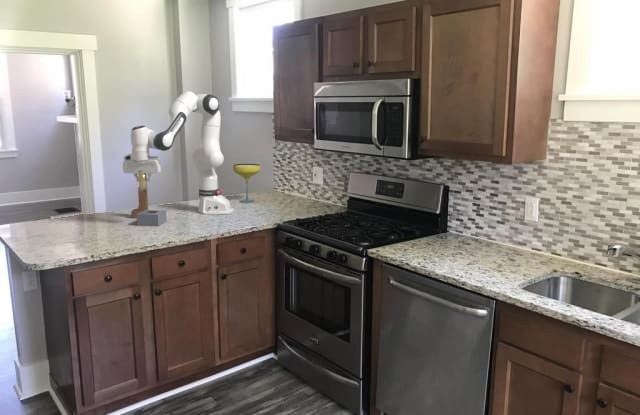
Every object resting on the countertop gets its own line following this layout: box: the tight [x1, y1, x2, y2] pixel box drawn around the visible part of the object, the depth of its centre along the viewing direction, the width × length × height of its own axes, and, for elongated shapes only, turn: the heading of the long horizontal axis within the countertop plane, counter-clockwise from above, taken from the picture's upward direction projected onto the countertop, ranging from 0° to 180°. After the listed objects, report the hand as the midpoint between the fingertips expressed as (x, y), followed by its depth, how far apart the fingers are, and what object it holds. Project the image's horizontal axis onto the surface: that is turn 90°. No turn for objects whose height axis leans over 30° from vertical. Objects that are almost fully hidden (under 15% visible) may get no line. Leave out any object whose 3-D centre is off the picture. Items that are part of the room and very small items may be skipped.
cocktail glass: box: [232, 163, 261, 204], centre depth 356 cm, size 18×18×25 cm
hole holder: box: [136, 209, 167, 227], centre depth 291 cm, size 12×12×6 cm
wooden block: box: [130, 186, 149, 219], centre depth 305 cm, size 9×4×18 cm, turn 99°
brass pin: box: [138, 170, 148, 193], centre depth 285 cm, size 4×4×12 cm
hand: (143, 181), depth 286 cm, fingers closed on brass pin, 4 cm apart
